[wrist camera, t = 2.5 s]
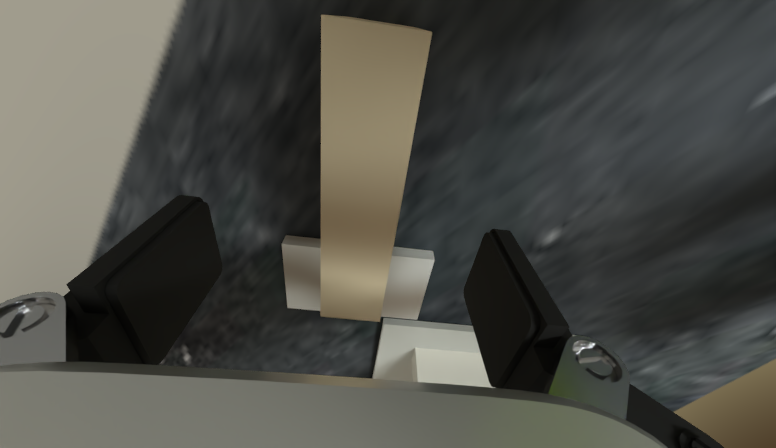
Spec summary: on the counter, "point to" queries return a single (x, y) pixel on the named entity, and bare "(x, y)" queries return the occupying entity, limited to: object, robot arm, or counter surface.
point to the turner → (363, 176)
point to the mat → (417, 344)
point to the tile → (449, 367)
